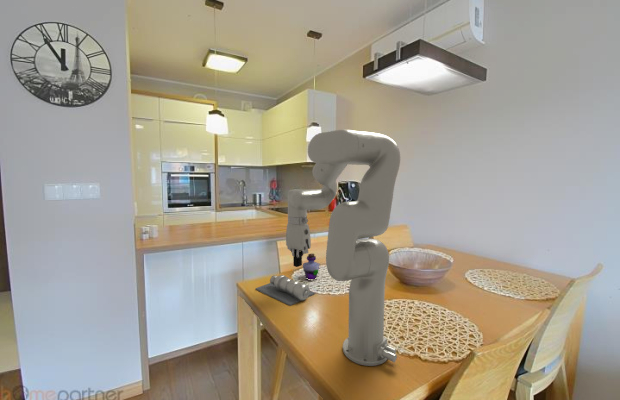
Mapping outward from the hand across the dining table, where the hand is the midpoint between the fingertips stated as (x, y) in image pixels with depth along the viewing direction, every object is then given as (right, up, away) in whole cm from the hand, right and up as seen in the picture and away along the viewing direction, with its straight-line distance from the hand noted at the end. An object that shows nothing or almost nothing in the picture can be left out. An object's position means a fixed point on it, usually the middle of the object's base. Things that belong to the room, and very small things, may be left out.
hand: (297, 265), depth 107 cm
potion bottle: (+6, -12, +22) cm, 25 cm away
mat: (-6, -13, +7) cm, 15 cm away
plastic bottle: (+4, -10, -3) cm, 11 cm away
